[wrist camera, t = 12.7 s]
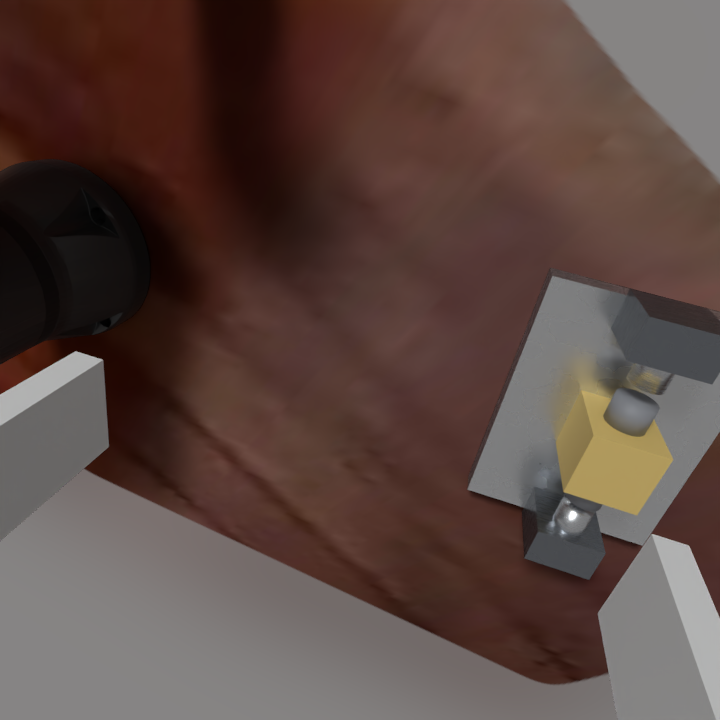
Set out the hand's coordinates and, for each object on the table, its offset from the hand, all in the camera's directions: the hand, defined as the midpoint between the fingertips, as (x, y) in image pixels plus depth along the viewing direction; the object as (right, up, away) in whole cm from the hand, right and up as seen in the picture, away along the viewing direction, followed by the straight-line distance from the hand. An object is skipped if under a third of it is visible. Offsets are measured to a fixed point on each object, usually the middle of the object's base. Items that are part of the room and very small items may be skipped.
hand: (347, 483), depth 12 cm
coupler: (+19, -2, +27) cm, 33 cm away
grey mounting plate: (+19, -1, +28) cm, 34 cm away
